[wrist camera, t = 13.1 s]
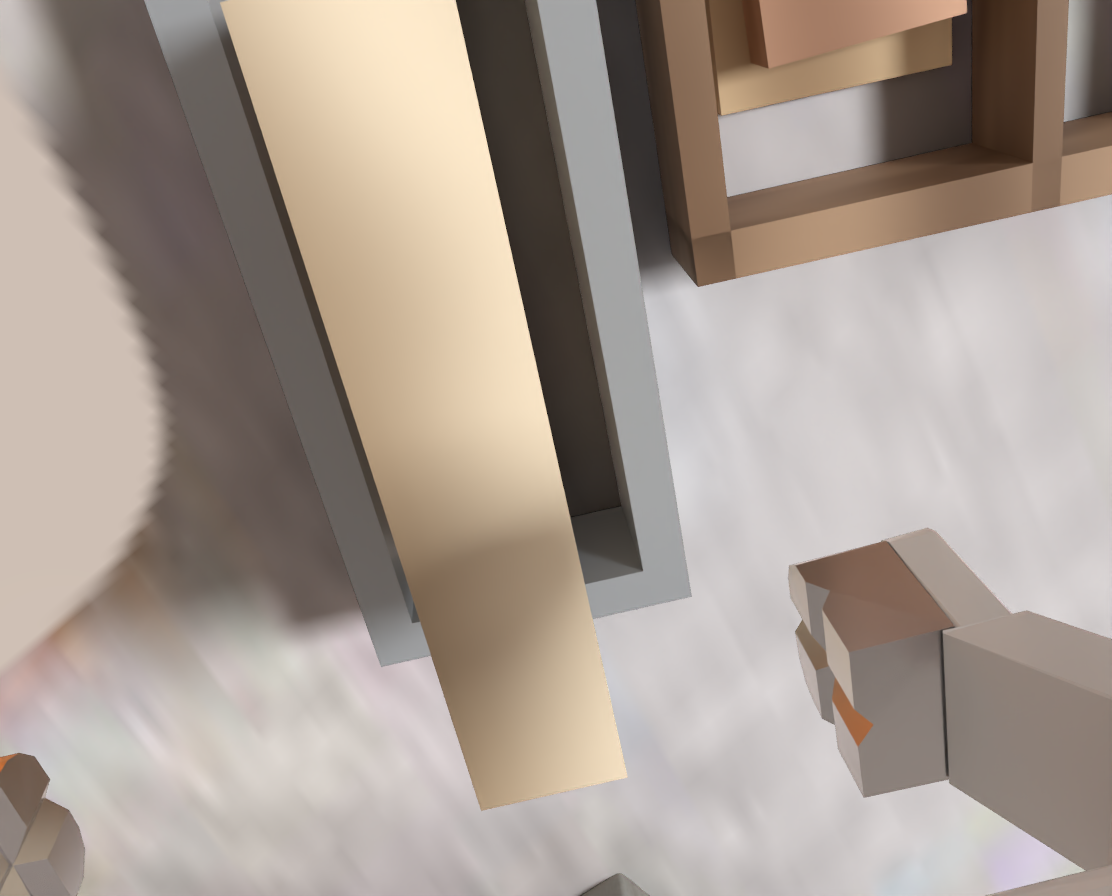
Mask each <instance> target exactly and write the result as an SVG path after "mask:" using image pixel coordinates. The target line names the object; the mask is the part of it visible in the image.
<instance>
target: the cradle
mask: <svg viewBox="0 0 1112 896" xmlns="http://www.w3.org/2000/svg"><path fill="white" fill-rule="evenodd" d="M223 1H228V0H144V2H145V4H146V7H147V10H148V13H149V16H150V19H151V21H152V24H153V27H154V30H155V33H156V35H157V38H158V41H159V44H160V47H161V49H162V52H163V55H164V58H165V61H166V64H167V66H168V69H169V72H170V75H171V78H172V80H173V83H174V86H175V89H176V92H177V94H178V97H179V100H180V103H181V106H182V108H183V111H184V114H185V117H186V120H187V123H188V125H189V128H190V131H191V134H192V137H193V139H194V142H195V145H196V148H197V151H198V153H199V156H200V159H201V162H202V165H203V168H204V170H205V173H206V176H207V179H208V182H209V184H210V187H211V190H212V193H213V196H214V198H215V201H216V204H217V207H218V210H219V212H220V215H221V218H222V221H223V224H224V227H225V229H226V232H227V235H228V238H229V241H230V243H231V246H232V249H233V252H234V255H235V257H236V260H237V263H238V266H239V269H240V272H241V274H242V277H243V280H244V283H245V286H246V288H247V291H248V294H249V297H250V300H251V302H252V305H253V308H254V311H255V314H256V316H257V319H258V322H259V325H260V328H261V331H262V333H263V336H264V339H265V342H266V345H267V347H268V350H269V353H270V356H271V359H272V361H273V364H274V367H275V370H276V373H277V376H278V378H279V381H280V384H281V387H282V390H283V392H284V395H285V398H286V401H287V404H288V406H289V409H290V412H291V415H292V418H293V420H294V423H295V426H296V429H297V432H298V435H299V437H300V440H301V443H302V446H303V449H304V451H305V454H306V457H307V460H308V463H309V465H310V468H311V471H312V474H313V477H314V480H315V482H316V485H317V488H318V491H319V494H320V496H321V499H322V502H323V505H324V508H325V510H326V513H327V516H328V519H329V522H330V524H331V527H332V530H333V533H334V536H335V539H336V541H337V544H338V547H339V550H340V553H341V555H342V558H343V561H344V564H345V567H346V569H347V572H348V575H349V578H350V581H351V584H352V586H353V589H354V592H355V595H356V598H357V600H358V603H359V606H360V609H361V612H362V614H363V617H364V620H365V623H366V626H367V628H368V631H369V634H370V637H371V640H372V643H373V645H374V648H375V651H376V654H377V657H378V659H379V662H380V665H381V667H383V666H388V665H392V664H397V663H401V662H405V661H410V660H414V659H419V658H423V657H427V656H431V654H430V651H429V648H428V644H427V641H426V638H425V635H424V632H423V629H422V626H421V623H420V620H419V617H418V614H417V610H416V607H415V604H414V601H413V598H412V595H411V592H410V589H409V586H408V583H407V580H406V576H405V573H404V570H403V567H402V564H401V561H400V558H399V555H398V552H397V549H396V546H395V542H394V539H393V536H392V533H391V530H390V527H389V524H388V521H387V518H386V515H385V512H384V508H383V505H382V502H381V499H380V496H379V493H378V490H377V487H376V484H375V481H374V478H373V474H372V471H371V468H370V465H369V462H368V459H367V456H366V453H365V450H364V447H363V444H362V440H361V437H360V434H359V431H358V428H357V425H356V422H355V419H354V416H353V413H352V410H351V406H350V403H349V400H348V397H347V394H346V391H345V388H344V385H343V382H342V379H341V376H340V372H339V369H338V366H337V363H336V360H335V357H334V354H333V351H332V348H331V345H330V341H329V338H328V335H327V332H326V329H325V326H324V323H323V320H322V317H321V314H320V311H319V307H318V304H317V301H316V298H315V295H314V292H313V289H312V286H311V283H310V280H309V277H308V273H307V270H306V267H305V264H304V261H303V258H302V255H301V252H300V249H299V246H298V243H297V239H296V236H295V233H294V230H293V227H292V224H291V221H290V218H289V215H288V212H287V209H286V205H285V202H284V199H283V196H282V193H281V190H280V187H279V184H278V181H277V178H276V175H275V171H274V168H273V165H272V162H271V159H270V156H269V153H268V150H267V147H266V144H265V141H264V137H263V134H262V131H261V128H260V125H259V122H258V119H257V116H256V113H255V110H254V107H253V103H252V100H251V97H250V94H249V91H248V88H247V85H246V82H245V79H244V76H243V73H242V69H241V66H240V63H239V60H238V57H237V54H236V51H235V48H234V45H233V42H232V39H231V35H230V32H229V29H228V26H227V23H226V20H225V17H224V14H223V11H222V8H221V5H220V2H223ZM525 5H526V10H527V16H528V21H529V26H530V31H531V36H532V42H533V47H534V52H535V57H536V63H537V68H538V73H539V78H540V83H541V89H542V94H543V99H544V104H545V110H546V115H547V120H548V125H549V130H550V136H551V141H552V146H553V151H554V157H555V162H556V167H557V172H558V177H559V183H560V188H561V193H562V198H563V204H564V209H565V214H566V219H567V224H568V230H569V235H570V240H571V245H572V251H573V256H574V261H575V266H576V272H577V277H578V282H579V287H580V292H581V298H582V303H583V308H584V313H585V319H586V324H587V329H588V334H589V339H590V345H591V350H592V355H593V360H594V366H595V371H596V376H597V381H598V386H599V392H600V397H601V402H602V407H603V413H604V418H605V423H606V428H607V433H608V439H609V444H610V449H611V454H612V460H613V465H614V470H615V475H616V480H617V486H618V491H619V496H620V501H621V506H620V507H615V508H611V509H606V510H602V511H598V512H593V513H589V514H584V515H580V516H575V517H571V518H570V519H571V524H572V528H573V533H574V538H575V542H576V547H577V551H578V556H579V560H580V565H581V569H582V574H583V578H584V583H585V587H586V592H587V596H588V601H589V605H590V610H591V614H592V619H595V618H600V617H604V616H608V615H613V614H617V613H622V612H626V611H630V610H635V609H639V608H644V607H648V606H653V605H657V604H661V603H666V602H670V601H675V600H679V599H683V598H688V597H692V595H691V589H690V583H689V577H688V571H687V564H686V558H685V552H684V546H683V539H682V533H681V527H680V521H679V514H678V508H677V502H676V496H675V490H674V483H673V477H672V471H671V465H670V458H669V452H668V446H667V440H666V434H665V427H664V421H663V415H662V409H661V402H660V396H659V390H658V384H657V378H656V371H655V365H654V359H653V353H652V346H651V340H650V334H649V328H648V321H647V315H646V309H645V303H644V297H643V290H642V284H641V278H640V272H639V265H638V259H637V253H636V247H635V241H634V234H633V228H632V222H631V216H630V209H629V203H628V197H627V191H626V185H625V178H624V172H623V166H622V160H621V153H620V147H619V141H618V135H617V128H616V122H615V116H614V110H613V104H612V97H611V91H610V85H609V79H608V72H607V66H606V60H605V54H604V48H603V41H602V35H601V29H600V23H599V16H598V10H597V4H596V0H525Z"/></svg>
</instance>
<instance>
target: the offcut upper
mask: <svg viewBox="0 0 1112 896" xmlns="http://www.w3.org/2000/svg"><path fill="white" fill-rule="evenodd" d="M742 5H743V12H744V19H745V26H746V33H747V40H748V47H749V53H750V60H751V63H752V64H755V65H759V66H762V67H765V68H768V69H769V68H773V67H776V66H780V65H784V64H787V63H791V62H794V61H798V60H801V59H805V58H808V57H812V56H816V55H819V54H823V53H826V52H830V51H833V50H837V49H840V48H844V47H848V46H851V45H855V44H858V43H862V42H865V41H869V40H872V39H876V38H880V37H883V36H887V35H890V34H894V33H897V32H901V31H904V30H908V29H912V28H915V27H919V26H922V25H926V24H929V23H933V22H937V21H940V20H944V19H947V18H951V17H954V16H958V15H961V14H965V13H967V0H742Z"/></svg>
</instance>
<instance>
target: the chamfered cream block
mask: <svg viewBox="0 0 1112 896" xmlns="http://www.w3.org/2000/svg"><path fill="white" fill-rule="evenodd" d="M220 5H221V8H222V11H223V14H224V17H225V20H226V23H227V26H228V29H229V32H230V35H231V39H232V42H233V45H234V48H235V51H236V54H237V57H238V60H239V63H240V66H241V69H242V73H243V76H244V79H245V82H246V85H247V88H248V91H249V94H250V97H251V100H252V103H253V107H254V110H255V113H256V116H257V119H258V122H259V125H260V128H261V131H262V134H263V137H264V141H265V144H266V147H267V150H268V153H269V156H270V159H271V162H272V165H273V168H274V171H275V175H276V178H277V181H278V184H279V187H280V190H281V193H282V196H283V199H284V202H285V205H286V209H287V212H288V215H289V218H290V221H291V224H292V227H293V230H294V233H295V236H296V239H297V243H298V246H299V249H300V252H301V255H302V258H303V261H304V264H305V267H306V270H307V273H308V277H309V280H310V283H311V286H312V289H313V292H314V295H315V298H316V301H317V304H318V307H319V311H320V314H321V317H322V320H323V323H324V326H325V329H326V332H327V335H328V338H329V341H330V345H331V348H332V351H333V354H334V357H335V360H336V363H337V366H338V369H339V372H340V376H341V379H342V382H343V385H344V388H345V391H346V394H347V397H348V400H349V403H350V406H351V410H352V413H353V416H354V419H355V422H356V425H357V428H358V431H359V434H360V437H361V440H362V444H363V447H364V450H365V453H366V456H367V459H368V462H369V465H370V468H371V471H372V474H373V478H374V481H375V484H376V487H377V490H378V493H379V496H380V499H381V502H382V505H383V508H384V512H385V515H386V518H387V521H388V524H389V527H390V530H391V533H392V536H393V539H394V542H395V546H396V549H397V552H398V555H399V558H400V561H401V564H402V567H403V570H404V573H405V576H406V580H407V583H408V586H409V589H410V592H411V595H412V598H413V601H414V604H415V607H416V610H417V614H418V617H419V620H420V623H421V626H422V629H423V632H424V635H425V638H426V641H427V644H428V648H429V651H430V654H431V657H432V660H433V663H434V666H435V669H436V672H437V675H438V678H439V682H440V685H441V688H442V691H443V694H444V697H445V700H446V703H447V706H448V709H449V712H450V716H451V719H452V722H453V725H454V728H455V731H456V734H457V737H458V740H459V743H460V746H461V750H462V753H463V756H464V759H465V762H466V765H467V768H468V771H469V774H470V777H471V780H472V784H473V787H474V790H475V793H476V796H477V799H478V802H479V805H480V808H481V811H482V810H487V809H491V808H496V807H500V806H504V805H509V804H513V803H518V802H522V801H526V800H531V799H535V798H539V797H544V796H548V795H553V794H557V793H561V792H566V791H570V790H575V789H579V788H583V787H588V786H592V785H596V784H601V783H605V782H610V781H614V780H618V779H623V778H627V772H626V768H625V763H624V759H623V754H622V750H621V745H620V741H619V736H618V732H617V727H616V723H615V718H614V714H613V709H612V705H611V700H610V696H609V691H608V687H607V682H606V677H605V673H604V668H603V664H602V659H601V655H600V650H599V646H598V641H597V637H596V632H595V628H594V623H593V619H592V614H591V610H590V605H589V601H588V596H587V592H586V587H585V583H584V578H583V574H582V569H581V565H580V560H579V556H578V551H577V547H576V542H575V538H574V533H573V528H572V524H571V519H570V515H569V510H568V506H567V501H566V497H565V492H564V488H563V483H562V479H561V474H560V470H559V465H558V461H557V456H556V452H555V447H554V443H553V438H552V434H551V429H550V425H549V420H548V416H547V411H546V407H545V402H544V398H543V393H542V389H541V384H540V379H539V375H538V370H537V366H536V361H535V357H534V352H533V348H532V343H531V339H530V334H529V330H528V325H527V321H526V316H525V312H524V307H523V303H522V298H521V294H520V289H519V285H518V280H517V276H516V271H515V267H514V262H513V258H512V253H511V249H510V244H509V240H508V235H507V230H506V226H505V221H504V217H503V212H502V208H501V203H500V199H499V194H498V190H497V185H496V181H495V176H494V172H493V167H492V163H491V158H490V154H489V149H488V145H487V140H486V136H485V131H484V127H483V122H482V118H481V113H480V109H479V104H478V100H477V95H476V91H475V86H474V81H473V77H472V72H471V68H470V63H469V59H468V54H467V50H466V45H465V41H464V36H463V32H462V27H461V23H460V18H459V14H458V9H457V5H456V0H228V1H223V2H220Z"/></svg>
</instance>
